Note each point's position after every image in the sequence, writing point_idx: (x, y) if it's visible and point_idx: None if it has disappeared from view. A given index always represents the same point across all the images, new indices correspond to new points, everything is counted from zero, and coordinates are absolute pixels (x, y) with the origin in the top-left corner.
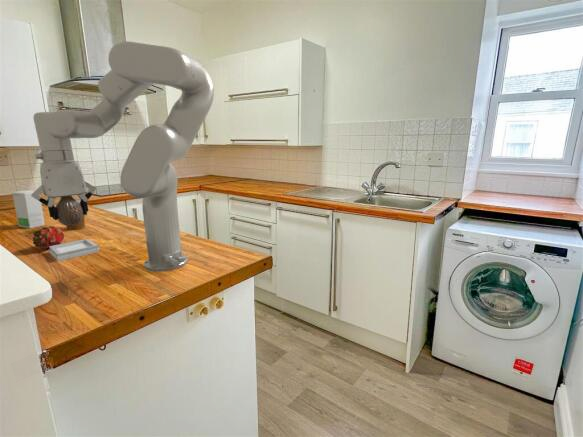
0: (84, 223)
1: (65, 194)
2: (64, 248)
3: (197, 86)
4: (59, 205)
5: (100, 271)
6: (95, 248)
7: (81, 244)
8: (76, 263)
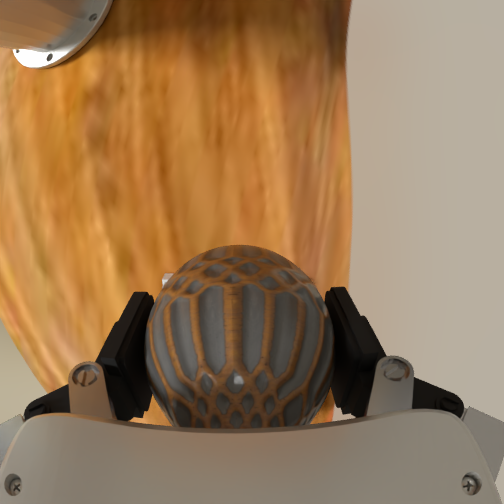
0: None
1: (271, 445)
2: None
3: None
4: (322, 366)
5: (214, 60)
6: None
7: None
8: (253, 204)
